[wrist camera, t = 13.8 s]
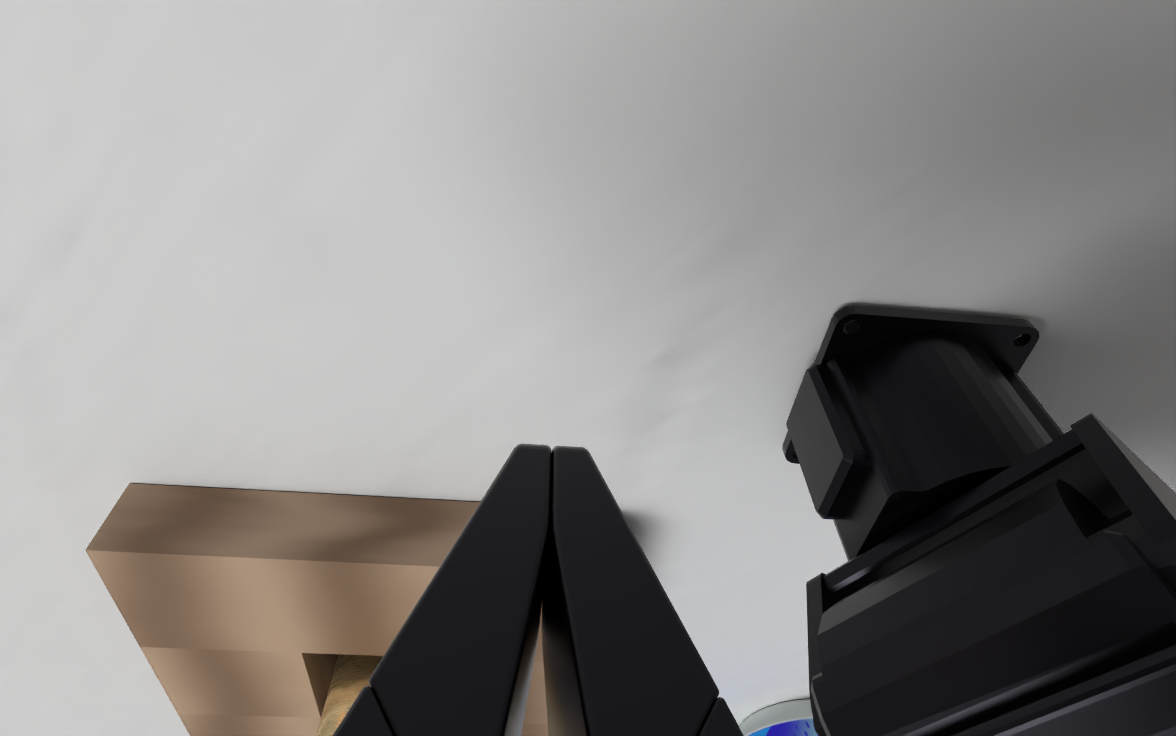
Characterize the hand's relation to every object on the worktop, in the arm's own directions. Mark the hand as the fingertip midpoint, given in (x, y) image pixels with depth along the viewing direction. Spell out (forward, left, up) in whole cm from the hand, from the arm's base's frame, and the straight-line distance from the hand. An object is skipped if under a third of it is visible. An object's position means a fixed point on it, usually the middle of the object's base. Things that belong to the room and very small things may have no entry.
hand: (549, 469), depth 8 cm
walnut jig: (+6, +24, -12) cm, 27 cm away
